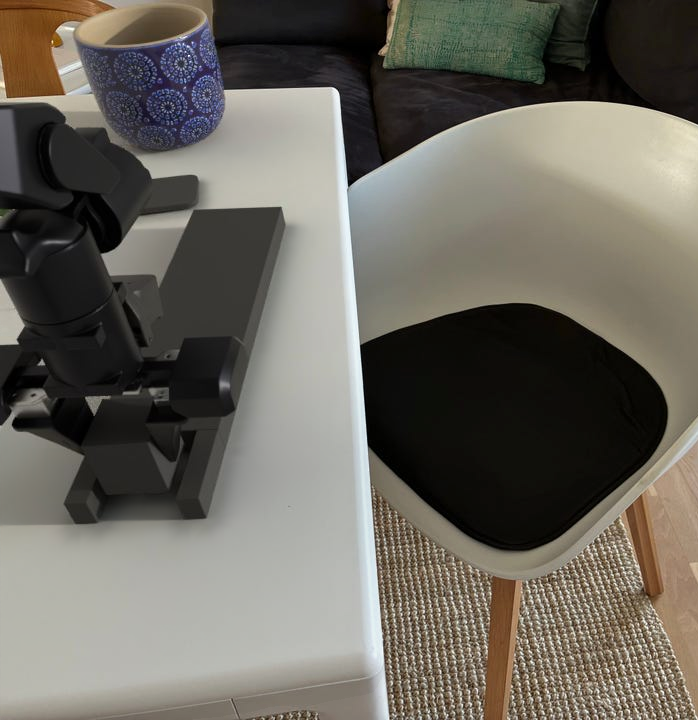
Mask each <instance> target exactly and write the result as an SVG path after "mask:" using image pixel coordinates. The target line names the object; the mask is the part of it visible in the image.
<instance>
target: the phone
mask: <svg viewBox="0 0 698 720" xmlns="http://www.w3.org/2000/svg"><path fill="white" fill-rule="evenodd" d="M152 182H153V192H152V196H151V198H150V200H149V202H148V203H147V205H146V206H145V208H144V209H143V211H142V212H141V214H140V215H145V214H153V213H160V212H161V213H162V212H169V211H178V210H185V209H191V208H193V207H195V206H197V205H198V203H199V192H200V180H199V177H198V176H197V175H196V174H183V175H174V176H165V177H156V178H152Z"/></svg>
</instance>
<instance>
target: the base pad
mask: <svg viewBox="0 0 698 720" xmlns="http://www.w3.org/2000/svg"><path fill="white" fill-rule="evenodd" d="M285 220H286V219H285V216H284V211H283V207H282V206H258V207H256V206H255V207H232V208H231V207H230V208H229V207H228V208H227V207H225V208H202V209H201V208H200V209H199V208H198V209H197V208H196V209H193V210H192V212H191V215H190V217H189V219H188V221H187V224H186V226H185V227H184V229H183V233H182V235H181V237H180V240H179V242H178V244H177V246H176V248H175V251H174V253H173V254H172V257H171V259H170V262H169V265H168V266H167V268H166V271H165V273H164V275H163V278H162V280H161V282H160V284H159V286H158V289H159V294H160V299H161V304H162V310H163V317H162V318H159V319H158V318H157V319H156V320H155V321H154V322H153V323H152V324H151V325H150V328H151V330H152V333H153V335H154V337H153V340H152V342H151V344H150V347H142V350H141V353H142V356H143V357H156V356H159V355H160V354H161V353H162V352H164V351H167V350H179V349H180V348H181V346H182V343H183V340H184V338H191V337H217V336H234V337H237V338H238V339H239V340H240V341H241V342H242V343H243V344H244V345H245V349H246V352H247V356H248V359H249V361H250V359H251V355H252V351H253V348H254V345H255V341H256V337H257V333H258V329H259V325H260V322H261V318H262V316H263V311H264V307H265V303H266V300H267V296H268V292H269V288H270V285H271V281H272V277H273V273H274V270H275V266H276V263H277V259H278V256H279V252H280V247H281V244H282V240H283V236H284V233H285V230H286V224H287V223H286V221H285ZM247 371H248V369H247V370H246V372H247ZM246 374H247V373H246ZM246 374H245V376H246ZM243 386H244V384H243V385H242V387H243ZM148 397H154V396H151V394H150V392H149V389H148V388H145V389H143V390H142V392H141V393H140V394H134V395H121V396H109V399H123V398H148ZM240 397H241V395H240V396H239V398H240ZM239 400H240V399H239ZM239 400H238V402H239ZM236 412H237V410H236V411H234V412H233V413H231V414H229V415H228V416H226V417H205V418H191V420H190V421H189V422H188V423H186V424H184V425H181V437H182V440H183V442H184V445H185V446H184V449H183V452H189V455H188V457H187V461H186V465H185V468H184V471H183V474H182V478H181V480H180V483H179V487H178V490H177V494H176V497H175V501H176V503H177V506H178V507H179V510H180V513H181V515H182V517H183V519H184V520H198V519H207V518H208V515H209V512H210V508H211V505H212V500H213V496H214V493H215V489H216V486H217V481H218V478H219V474H220V470H221V467H222V463H223V460H224V455H225V452H226V448H227V445H228V441H229V438H230V434H231V429H232V426H233V422H234V419H235V415H236ZM109 497H110V496H109V495H106V493H105V491H104V489H103V488H102V486H101V484H100V482H99V480H98V478H97V476H96V475H95V473H94V471H93V469H92V467H91V465H90V463H89V462H88V460H87V458H86V457H85V456H83V458H82V460H81V463H80V465H79V468H78V470H77V472H76V475H75V476H74V478H73V481H72V484H71V485H70V488H69V490H68V492H67V494H66V497H65V499H64V502H63V506H64V508H65V509H66V511H67V513H68V514H69V516H70V518H71V519H72V521H73V523H74V524H75V525H78V524H79V525H80V524H81V525H82V524H97V523H99V521H100V519H101V516H102V513H103V511H104V509H105V506H106V503H107V501H108V498H109Z"/></svg>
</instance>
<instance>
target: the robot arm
mask: <svg viewBox="0 0 698 720" xmlns="http://www.w3.org/2000/svg"><path fill="white" fill-rule="evenodd" d="M66 121H67V117H66V116H65V115H64V113H62V111H61V110H60V109H58V108H57V107H56V106H54V105H52V104H51V103H49V102H43V101H38V102H37V101H31V102H30V101H29V102H27V101H26V102H25V101H23V102H22V101H20V102H19V101H18V102H17V101H15V102H13V101H12V102H11V101H9V102H8V101H6V102H3V101H2V102H1V101H0V210H2V211H5V210H10V211H8V212H6V213H5V214H4V215H2V217H0V282H1V283H2V285H3V287H4V289H5V291H6V293H7V294H8V296H9V298H10V300H11V302H12V304H13V306H14V308H15V310H16V312H17V315H18V316H19V318H20V320H21V322H22V323H23V328H22V330H21V331H20V333H19V334H18V336H17V338H16V340H15V341H16V342H17V343H14V344H11V343H10V344H0V427H3V426H4V424H5V423H6V422H7V420H8V419H9V418H10V416H11V415H12V413H13V415H14V417H13V419H12V421H11V424H10V425H11V427H12V429H13V430H14V431H16V432H18V433H28V434H32V435H34V436H37V437H39V438H42V439H44V440H47V441H49V442H52V443H54V444H57V445H59V446H62V447H63V448H66V449H68V450H70V451H72V452H74V453H77V454H78V455H80V456H83V457H84V456H85V454H84V452H83V450H82V449H81V444H82V442H83V440H84V438H85V435H86V433H87V431H88V429H89V427H90V424H91V422H92V420H93V418H94V416H95V413H94V412H93V411H92V408H91V407H90V404H89V403H88V401H87V399H86V398H90V397H91V398H94V397H111V396H121V395H134V394H140V393H141V392H142V390H143V389H145V388H148V389H149V392H150V394H151V396H154V397H153V401H152V404H151V407H150V409H149V412H148V414H147V417H146V420H145V422H144V424H145V426H146V427H147V429H148V430H149V432H150V434H151V435H152V437H153V438H154V440H155V441H156V443H157V445H158V446H159V448H160V449H161V451H162V453H163V454H164V456H165V457H166V458H167V459H168V460H169V461H170V462H176V460H177V457H178V454H179V448H180V436H181V425H184V424H186V423H188V422H189V421H190V420H191V418H205V417H226V416H228V415H229V414H231V413H233V412H234V411H236V412H237V408H238V404H239V401H238V400H240V397H241V393H242V390H243V386H244V382H245V379H246V375H245V374H247V371H248V367H249V363H250V360H249V359H248V356H247V352H246V349H245V345H244V344H243V343H242V342H241V341H240V340H239V339H238V338H237V337H234V336H217V337H191V338H184V340H183V343H182V346H181V348H180V349H179V350H167V351H164V352H162V353H161V354H160V355H159V356H156V357H143V356H142V353H141V350H142V347H150V344H151V342H152V340H153V337H154V335H153V333H152V330H151V328H150V325H151V324H152V323H153V322H154V321H155V320H156V319H157V318H158V319H159V318H162V317H163V310H162V304H161V299H160V294H159V283H158V279H157V275H155V274H149V273H147V274H145V273H144V274H121V275H119V274H118V275H117V274H116V275H110V273H109V271H108V268H107V266H106V263H105V261H104V258H103V256H102V255H103V254H108V253H110V252H112V251H115V250H116V249H117V248H119V246H120V245H121V244H122V243H123V241H124V239H125V238H126V236H127V235H128V233H129V232H130V230H131V229H132V228H133V226H134V224H135V223H136V221H137V220H138V218H139V217H140V216H141V215H142V214H141V212H142V211H143V209H144V208H145V206H146V205H147V203H148V202H149V200H150V198H151V196H152V192H153V182H152V179H153V177H152V175H151V171H150V170H149V169H148V168H147V167H146V166H145V165H144V164H143V162H142V161H141V160H140V159H139V158H137V156H136V155H135V154H134V153H132V152H130V151H129V150H127V149H126V148H125V147H123V146H121V145H118V144H116V143H114V142H111V139H110V138H109V134H108V130H107V129H106V128H105V127H103V126H99V127H98V126H97V127H95V126H94V127H93V126H91V127H89V126H88V127H85V126H82V127H75V128H74V127H72V126H71V125H69V124H67V123H66ZM41 362H43V363H44V364H40V363H41ZM246 370H247V371H246ZM242 385H243V386H242ZM239 396H240V397H239ZM85 457H86V456H85Z"/></svg>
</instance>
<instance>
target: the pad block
mask: <svg viewBox="0 0 698 720" xmlns="http://www.w3.org/2000/svg"><path fill="white" fill-rule="evenodd" d="M152 401H153V397H148V398H123V399H110V398H102V399H101V401H100V402H99V404H98V407H97V409H96V412H95V413H94V418H93V420H92V422H91V424H90V427H89V429H88V431H87V433H86V435H85V438H84V440H83V442H82V444H81V449H82V450H83V452H84V454H85V456H86V458H87V460H88V462H89V463H90V465H91V467H92V469H93V471H94V473H95V475H96V476H97V478H98V480H99V482H100V484H101V486H102V488H103V489H104V491H105V493H106V495H111V496H112V495H132V494H133V495H134V494H157V493H158V494H159V493H170V492H171V489H172V486H173V483H174V480H175V476H176V473H177V470H178V467H179V464H180V461H181V458H182V455H183V452H184V451H183V449H184V446H185V445H184V442H183V440H182V437H181V436H180V448H179V454H178V457H177V460H176V462H170V461H169V460H168V459H167V458H166V457H165V456H164V454H163V453H162V451H161V449H160V448H159V446H158V445H157V443H156V441H155V440H154V438H153V437H152V435H151V434H150V432H149V430H148V429H147V427H146V426H145V424H144V422H145V420H146V417H147V414H148V412H149V409H150V407H151V404H152Z"/></svg>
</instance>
